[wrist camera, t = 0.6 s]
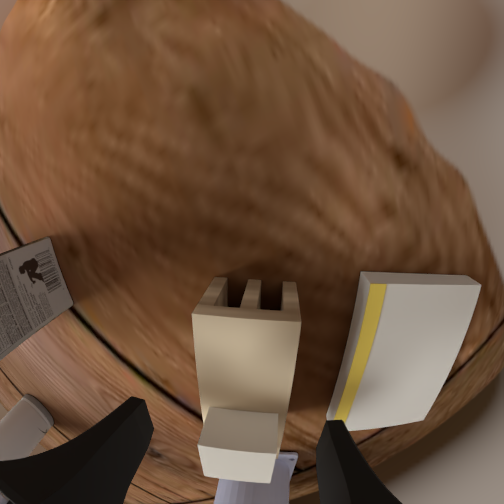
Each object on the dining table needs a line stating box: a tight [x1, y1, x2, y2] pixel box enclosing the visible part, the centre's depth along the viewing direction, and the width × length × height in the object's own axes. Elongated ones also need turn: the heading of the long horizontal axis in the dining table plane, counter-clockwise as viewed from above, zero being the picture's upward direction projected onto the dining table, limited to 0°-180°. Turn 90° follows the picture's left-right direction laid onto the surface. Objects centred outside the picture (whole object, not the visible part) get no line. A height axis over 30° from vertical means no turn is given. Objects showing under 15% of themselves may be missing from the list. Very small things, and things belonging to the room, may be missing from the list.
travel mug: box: [0, 394, 54, 461], centre depth 16 cm, size 6×7×20 cm
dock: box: [326, 271, 481, 431], centre depth 16 cm, size 13×9×2 cm
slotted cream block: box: [192, 277, 301, 459], centre depth 16 cm, size 12×5×5 cm, turn 178°
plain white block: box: [198, 407, 278, 483], centre depth 13 cm, size 4×4×3 cm
